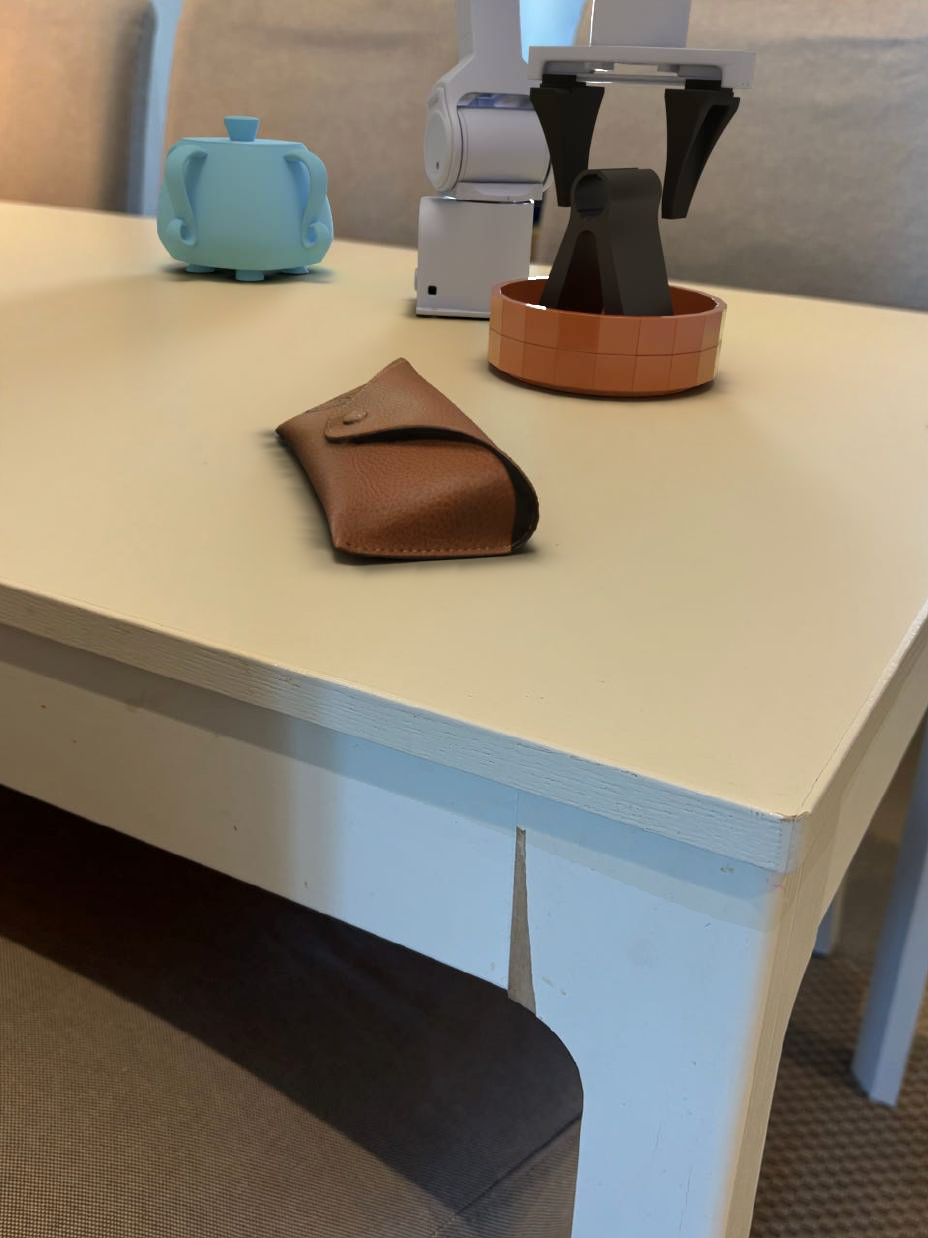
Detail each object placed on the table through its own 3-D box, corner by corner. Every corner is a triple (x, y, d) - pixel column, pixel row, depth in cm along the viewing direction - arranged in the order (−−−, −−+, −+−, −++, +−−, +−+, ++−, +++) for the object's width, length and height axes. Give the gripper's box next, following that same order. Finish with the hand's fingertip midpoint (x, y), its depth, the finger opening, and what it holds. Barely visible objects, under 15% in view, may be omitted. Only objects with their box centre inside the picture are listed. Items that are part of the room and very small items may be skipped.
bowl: (486, 394, 65) (491, 310, 63) (487, 342, 79) (491, 271, 76) (735, 406, 65) (748, 323, 63) (693, 352, 78) (703, 282, 76)
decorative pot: (334, 262, 111) (333, 118, 105) (332, 286, 97) (330, 122, 91) (174, 257, 109) (164, 110, 104) (148, 281, 95) (134, 113, 89)
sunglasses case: (262, 423, 55) (325, 309, 54) (375, 482, 59) (437, 376, 57) (334, 557, 40) (425, 404, 39) (480, 626, 44) (570, 487, 42)
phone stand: (681, 368, 71) (707, 173, 66) (633, 382, 67) (657, 175, 61) (570, 344, 76) (586, 162, 71) (519, 356, 72) (532, 163, 67)
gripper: (792, -33, 61) (753, 220, 67) (577, -28, 69) (560, 198, 75) (738, -48, 56) (701, 226, 62) (513, -41, 63) (500, 203, 70)
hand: (620, 212), depth 68 cm, fingers open, 7 cm apart
